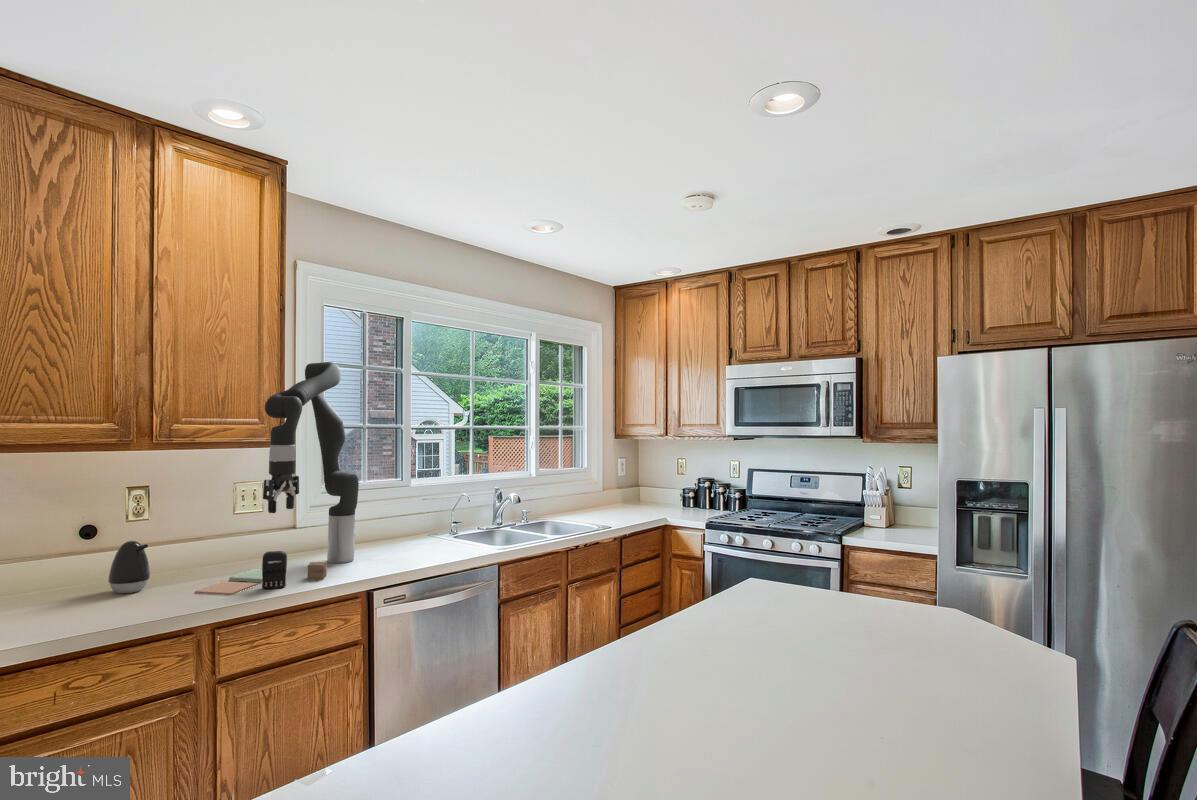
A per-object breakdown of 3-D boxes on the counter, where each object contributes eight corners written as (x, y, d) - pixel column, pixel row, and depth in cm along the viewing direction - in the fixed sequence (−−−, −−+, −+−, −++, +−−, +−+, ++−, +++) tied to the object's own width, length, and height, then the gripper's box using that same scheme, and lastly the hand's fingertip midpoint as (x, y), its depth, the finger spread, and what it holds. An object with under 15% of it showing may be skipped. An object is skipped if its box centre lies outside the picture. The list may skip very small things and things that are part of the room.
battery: (260, 590, 197) (262, 553, 197) (261, 587, 201) (262, 550, 201) (285, 588, 200) (287, 551, 200) (286, 585, 203) (287, 549, 204)
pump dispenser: (132, 596, 188) (134, 544, 188) (98, 595, 189) (101, 543, 189) (158, 587, 198) (160, 538, 199) (126, 586, 199) (128, 537, 199)
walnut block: (310, 576, 216) (310, 561, 216) (326, 576, 217) (326, 561, 217) (307, 580, 211) (307, 565, 211) (323, 580, 212) (323, 564, 212)
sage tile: (253, 572, 220) (253, 568, 220) (285, 574, 218) (286, 570, 218) (229, 580, 208) (229, 577, 208) (263, 582, 206) (263, 579, 206)
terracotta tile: (222, 585, 205) (222, 581, 205) (257, 586, 203) (257, 583, 203) (194, 595, 193) (194, 591, 193) (231, 597, 191) (231, 593, 192)
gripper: (286, 457, 209) (284, 507, 209) (256, 460, 195) (254, 513, 195) (307, 458, 208) (305, 508, 208) (278, 461, 194) (277, 514, 193)
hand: (281, 510), depth 201 cm, fingers open, 8 cm apart
